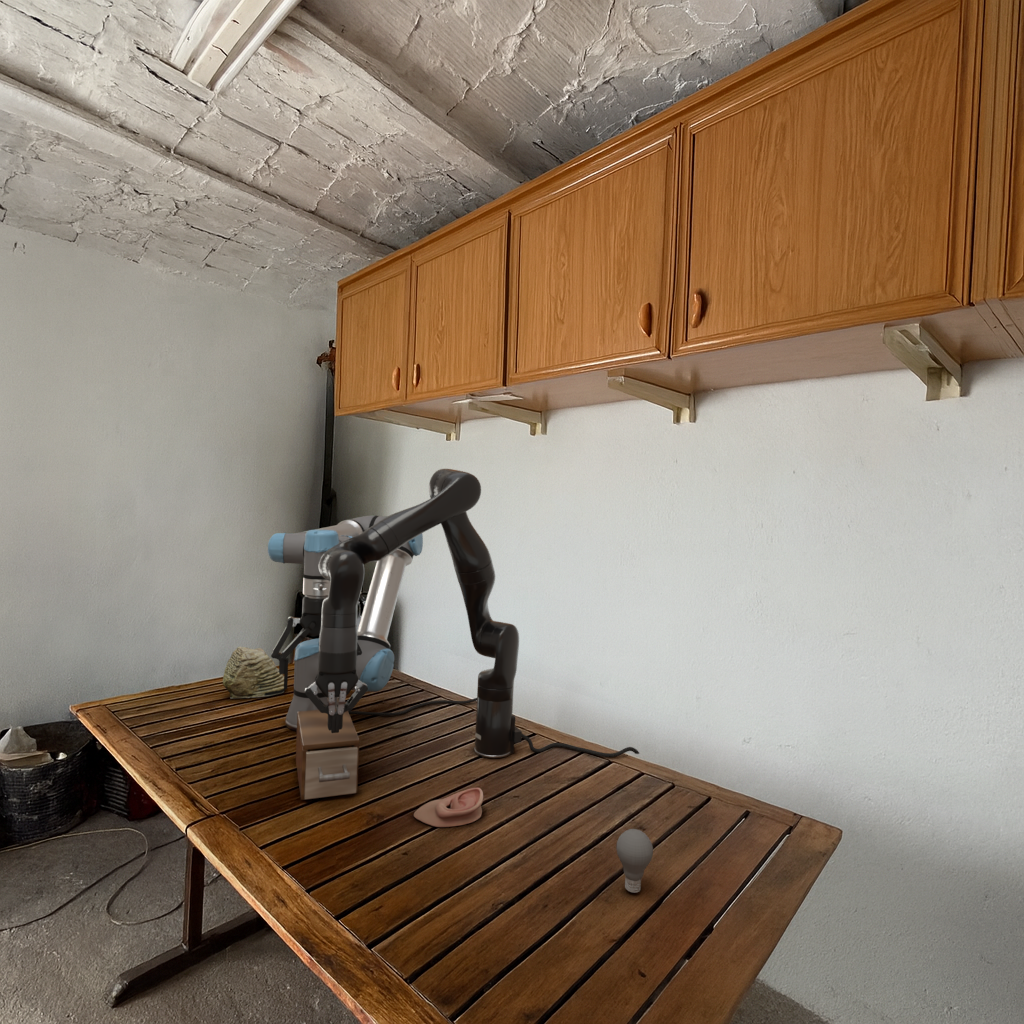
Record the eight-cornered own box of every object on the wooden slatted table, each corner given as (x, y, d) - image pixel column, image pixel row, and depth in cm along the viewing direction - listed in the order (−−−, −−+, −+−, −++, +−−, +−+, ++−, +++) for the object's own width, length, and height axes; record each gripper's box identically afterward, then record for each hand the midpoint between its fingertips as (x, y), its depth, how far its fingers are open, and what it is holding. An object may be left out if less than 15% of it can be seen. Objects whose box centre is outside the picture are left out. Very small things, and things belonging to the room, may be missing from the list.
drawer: (359, 805, 129) (361, 759, 129) (306, 812, 125) (308, 764, 125) (344, 755, 153) (345, 716, 153) (299, 760, 149) (300, 720, 149)
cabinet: (357, 793, 136) (359, 739, 136) (300, 800, 132) (302, 745, 132) (344, 753, 156) (346, 707, 156) (295, 759, 152) (297, 711, 152)
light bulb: (610, 879, 108) (613, 822, 108) (644, 879, 109) (647, 822, 109) (619, 902, 102) (622, 840, 102) (655, 901, 103) (658, 840, 103)
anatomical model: (408, 802, 124) (427, 778, 135) (407, 822, 124) (427, 796, 136) (473, 812, 122) (488, 786, 133) (473, 832, 122) (487, 805, 133)
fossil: (218, 695, 195) (220, 647, 195) (278, 685, 208) (279, 640, 207) (228, 703, 189) (230, 653, 188) (289, 692, 201) (290, 645, 201)
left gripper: (261, 599, 140) (258, 694, 141) (375, 598, 148) (372, 688, 149) (263, 593, 148) (260, 684, 148) (372, 593, 155) (368, 678, 156)
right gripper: (305, 653, 123) (301, 741, 123) (373, 649, 128) (370, 735, 128) (302, 644, 130) (299, 728, 130) (368, 641, 135) (364, 722, 135)
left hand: (316, 686), depth 148 cm, fingers open, 13 cm apart
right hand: (334, 731), depth 129 cm, fingers closed
